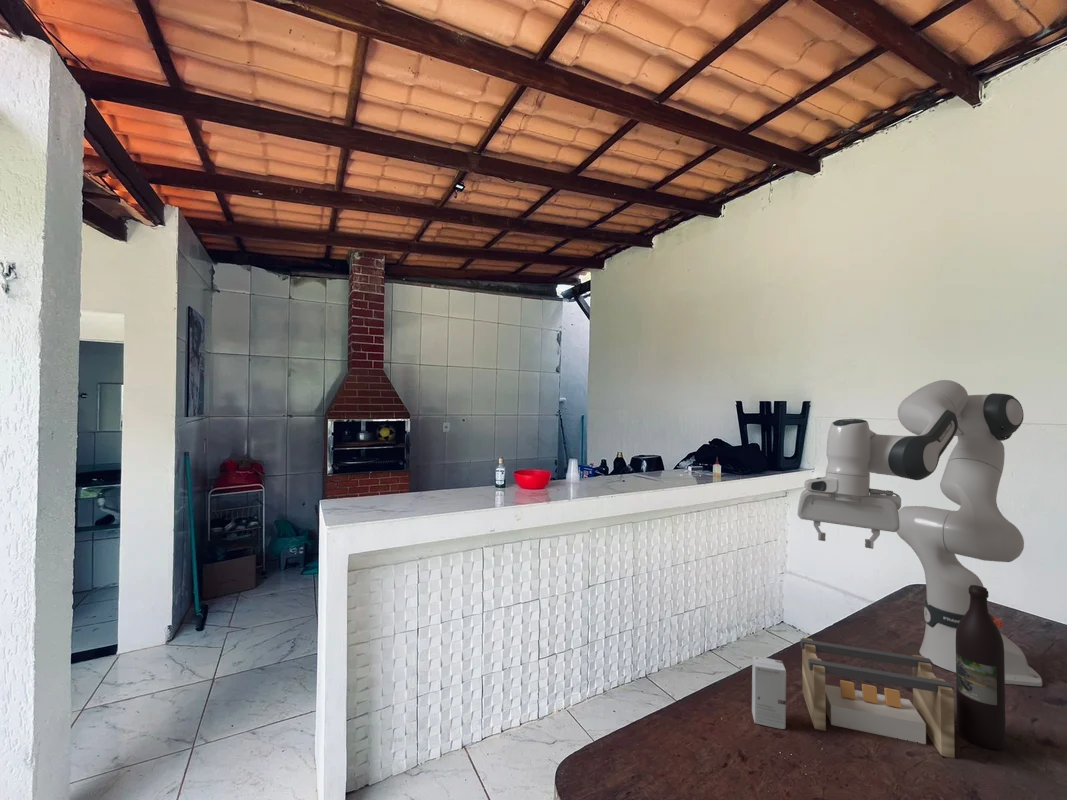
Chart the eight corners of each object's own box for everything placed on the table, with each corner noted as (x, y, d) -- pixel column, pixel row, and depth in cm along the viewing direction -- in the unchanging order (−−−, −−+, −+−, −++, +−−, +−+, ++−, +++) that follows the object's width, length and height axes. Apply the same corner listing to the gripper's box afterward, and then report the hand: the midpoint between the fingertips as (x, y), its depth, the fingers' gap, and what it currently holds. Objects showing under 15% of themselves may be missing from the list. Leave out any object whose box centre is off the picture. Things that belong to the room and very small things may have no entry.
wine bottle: (947, 725, 96) (945, 580, 97) (982, 726, 96) (980, 580, 97) (978, 750, 89) (976, 594, 90) (1016, 751, 89) (1014, 594, 90)
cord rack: (924, 715, 100) (923, 656, 100) (954, 758, 87) (953, 690, 88) (802, 692, 108) (802, 637, 108) (814, 728, 96) (813, 666, 96)
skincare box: (754, 724, 97) (753, 666, 97) (751, 710, 101) (750, 655, 101) (787, 730, 95) (786, 671, 95) (782, 716, 99) (782, 659, 99)
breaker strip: (909, 718, 99) (909, 699, 99) (925, 744, 91) (925, 723, 91) (822, 701, 104) (822, 683, 104) (831, 724, 97) (831, 705, 97)
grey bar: (949, 690, 90) (949, 682, 90) (953, 695, 89) (953, 686, 89) (808, 666, 99) (808, 658, 99) (809, 670, 97) (809, 662, 97)
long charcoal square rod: (929, 666, 98) (929, 658, 98) (932, 670, 97) (932, 662, 97) (800, 645, 107) (800, 638, 107) (801, 649, 105) (801, 642, 105)
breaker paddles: (899, 706, 96) (897, 690, 97) (901, 707, 95) (899, 691, 96) (840, 695, 100) (839, 679, 101) (842, 696, 99) (840, 681, 100)
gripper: (898, 490, 109) (897, 549, 108) (798, 479, 119) (796, 534, 119) (904, 493, 104) (902, 555, 103) (798, 482, 114) (796, 538, 113)
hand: (844, 544), depth 111 cm, fingers open, 8 cm apart
